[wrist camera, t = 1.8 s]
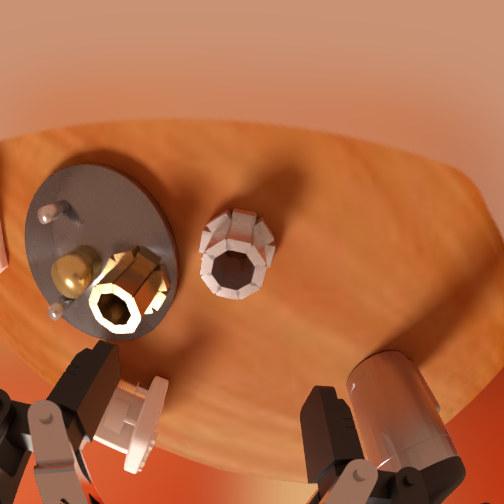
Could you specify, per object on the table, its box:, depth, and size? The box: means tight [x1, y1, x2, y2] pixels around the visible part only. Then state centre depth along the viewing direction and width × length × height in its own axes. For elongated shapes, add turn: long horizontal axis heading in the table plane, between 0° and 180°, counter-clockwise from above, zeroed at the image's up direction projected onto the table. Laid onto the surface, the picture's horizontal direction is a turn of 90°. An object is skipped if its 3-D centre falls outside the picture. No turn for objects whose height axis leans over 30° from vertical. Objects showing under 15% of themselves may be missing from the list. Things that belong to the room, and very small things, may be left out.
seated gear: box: [89, 245, 172, 333], centre depth 23 cm, size 6×6×6 cm
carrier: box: [25, 164, 179, 341], centre depth 24 cm, size 20×20×6 cm
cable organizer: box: [80, 376, 169, 474], centre depth 28 cm, size 15×11×12 cm
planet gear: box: [199, 208, 276, 300], centre depth 23 cm, size 6×6×6 cm
